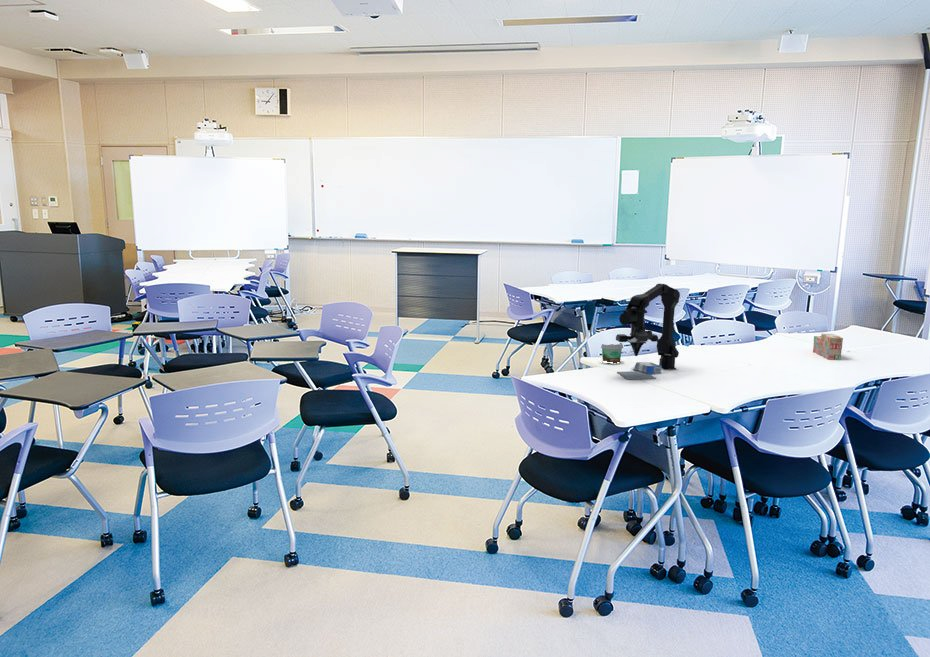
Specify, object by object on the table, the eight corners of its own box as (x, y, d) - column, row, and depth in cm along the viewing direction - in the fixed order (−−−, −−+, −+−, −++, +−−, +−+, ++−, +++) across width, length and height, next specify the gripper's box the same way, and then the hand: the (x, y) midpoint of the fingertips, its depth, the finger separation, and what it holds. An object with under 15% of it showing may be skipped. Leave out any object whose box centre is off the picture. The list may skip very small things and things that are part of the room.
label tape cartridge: (647, 365, 306) (631, 360, 318) (645, 373, 307) (630, 367, 318) (662, 365, 310) (645, 360, 321) (660, 373, 311) (644, 368, 322)
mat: (644, 372, 313) (644, 371, 313) (656, 379, 299) (656, 378, 299) (616, 372, 311) (616, 371, 311) (627, 379, 298) (627, 378, 298)
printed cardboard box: (812, 352, 363) (814, 330, 361) (824, 352, 362) (826, 330, 360) (828, 360, 342) (830, 337, 340) (840, 360, 341) (843, 337, 339)
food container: (607, 365, 326) (608, 346, 325) (600, 363, 332) (601, 344, 330) (627, 363, 331) (628, 344, 329) (620, 361, 337) (621, 342, 335)
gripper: (624, 326, 292) (622, 359, 295) (664, 325, 294) (662, 359, 297) (616, 322, 303) (614, 354, 306) (654, 321, 305) (652, 354, 308)
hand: (636, 355), depth 304 cm, fingers closed
